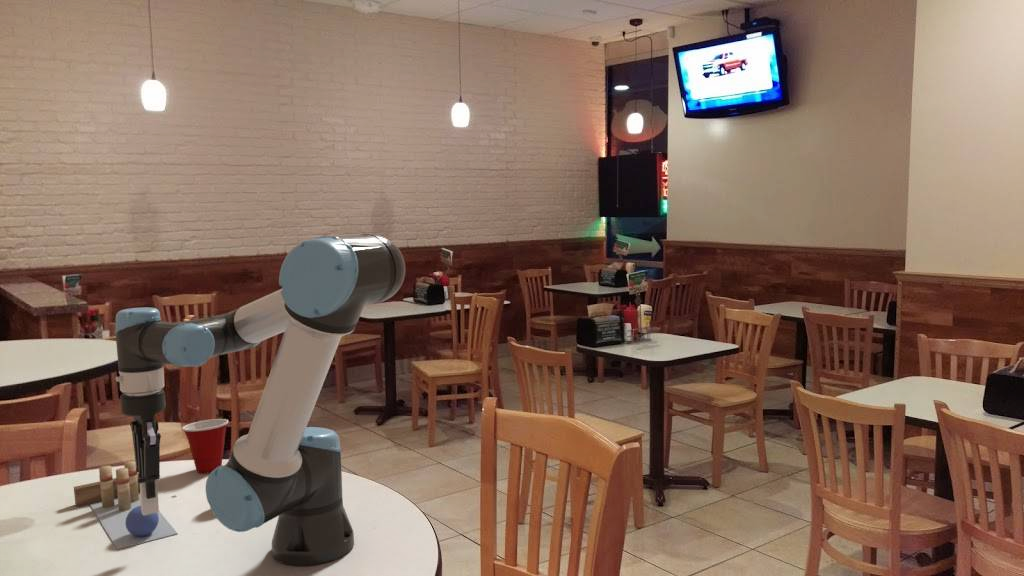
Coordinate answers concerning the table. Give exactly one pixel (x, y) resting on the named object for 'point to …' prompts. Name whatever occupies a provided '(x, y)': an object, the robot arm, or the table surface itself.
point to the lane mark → (117, 525)
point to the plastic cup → (206, 443)
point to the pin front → (123, 489)
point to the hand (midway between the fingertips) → (150, 512)
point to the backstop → (93, 492)
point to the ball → (141, 522)
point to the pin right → (132, 480)
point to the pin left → (106, 486)
